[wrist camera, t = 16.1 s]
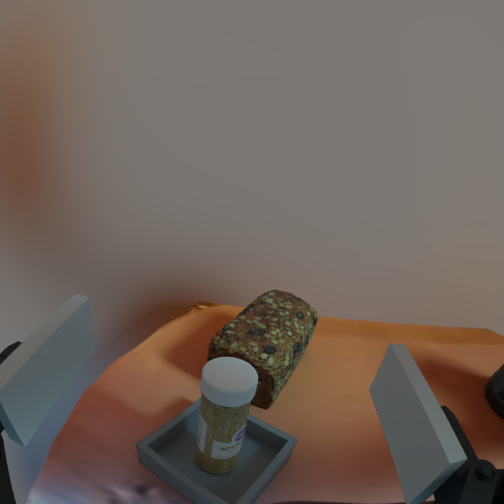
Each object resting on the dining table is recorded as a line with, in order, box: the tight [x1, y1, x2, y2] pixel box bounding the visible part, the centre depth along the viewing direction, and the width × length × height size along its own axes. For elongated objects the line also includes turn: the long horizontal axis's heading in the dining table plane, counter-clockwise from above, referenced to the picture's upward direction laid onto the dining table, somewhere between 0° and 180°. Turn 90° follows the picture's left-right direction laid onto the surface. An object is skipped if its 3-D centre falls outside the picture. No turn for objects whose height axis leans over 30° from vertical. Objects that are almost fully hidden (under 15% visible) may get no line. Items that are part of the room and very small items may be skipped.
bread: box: [207, 290, 318, 409], centre depth 45 cm, size 19×11×10 cm, turn 153°
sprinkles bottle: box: [196, 357, 258, 474], centre depth 25 cm, size 5×5×14 cm
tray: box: [136, 398, 298, 504], centre depth 27 cm, size 12×12×4 cm
